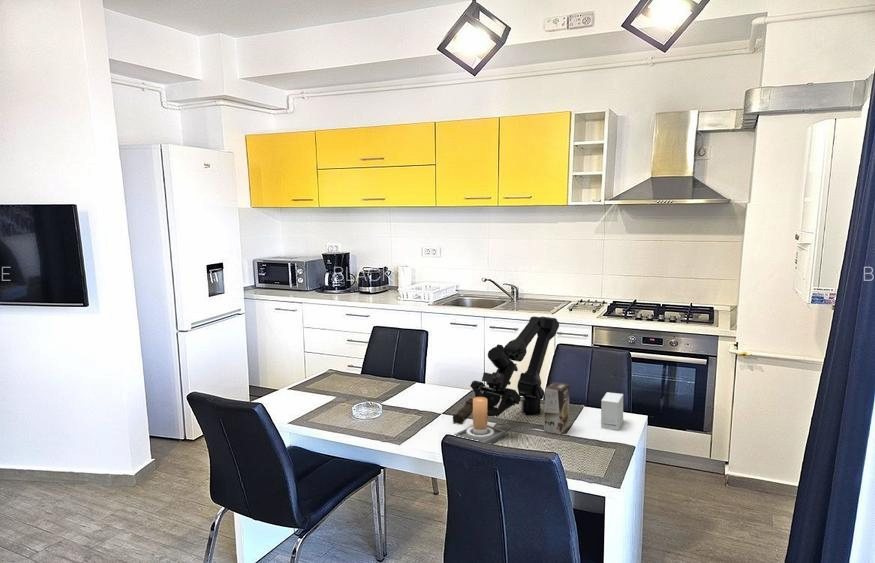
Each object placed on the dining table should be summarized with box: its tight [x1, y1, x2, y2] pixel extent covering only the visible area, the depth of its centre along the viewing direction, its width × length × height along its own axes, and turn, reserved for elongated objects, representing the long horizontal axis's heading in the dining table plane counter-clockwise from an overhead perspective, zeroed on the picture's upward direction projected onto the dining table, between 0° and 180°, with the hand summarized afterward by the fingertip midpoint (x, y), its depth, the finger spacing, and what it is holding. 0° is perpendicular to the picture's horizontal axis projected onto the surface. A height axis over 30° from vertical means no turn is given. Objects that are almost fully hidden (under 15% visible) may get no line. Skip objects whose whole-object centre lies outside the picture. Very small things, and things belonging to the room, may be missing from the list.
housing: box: [453, 424, 507, 445], centre depth 196 cm, size 14×12×2 cm
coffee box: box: [543, 381, 570, 435], centre depth 203 cm, size 9×6×16 cm
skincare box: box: [600, 391, 624, 431], centre depth 207 cm, size 10×6×10 cm, turn 152°
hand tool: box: [452, 397, 474, 425], centre depth 218 cm, size 19×4×5 cm, turn 156°
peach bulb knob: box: [472, 396, 488, 435], centre depth 195 cm, size 5×5×13 cm
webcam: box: [484, 392, 501, 417], centre depth 220 cm, size 8×8×10 cm
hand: (485, 412), depth 197 cm, fingers open, 9 cm apart
